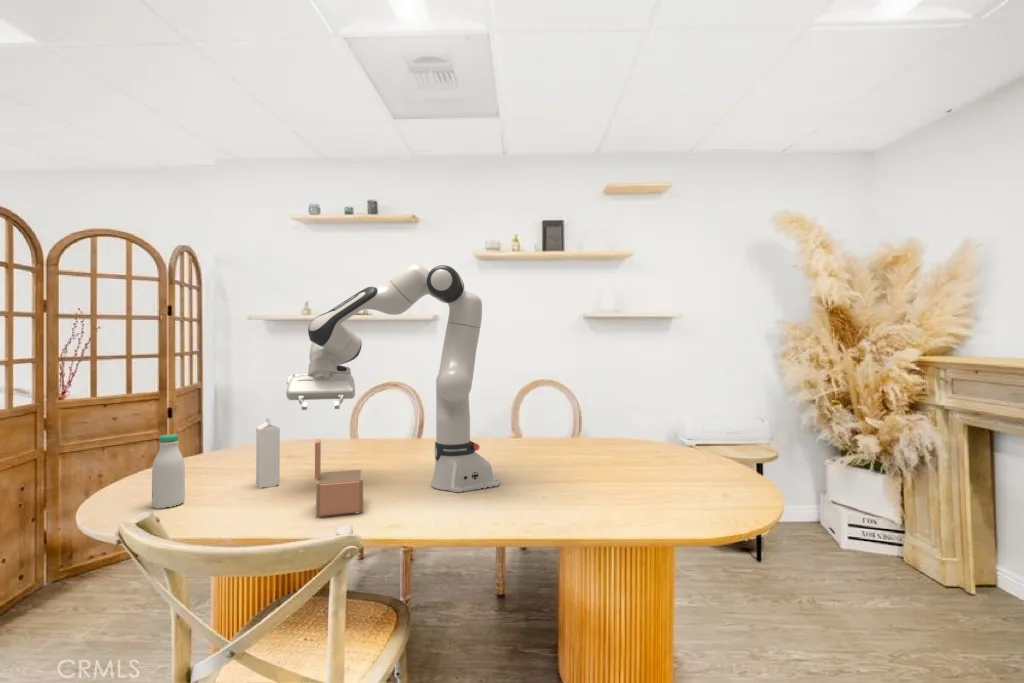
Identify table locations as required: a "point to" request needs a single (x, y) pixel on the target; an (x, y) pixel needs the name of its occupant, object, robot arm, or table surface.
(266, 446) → the milk
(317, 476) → the flap
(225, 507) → the table surface
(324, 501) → the carton
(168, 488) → the milk bottle
